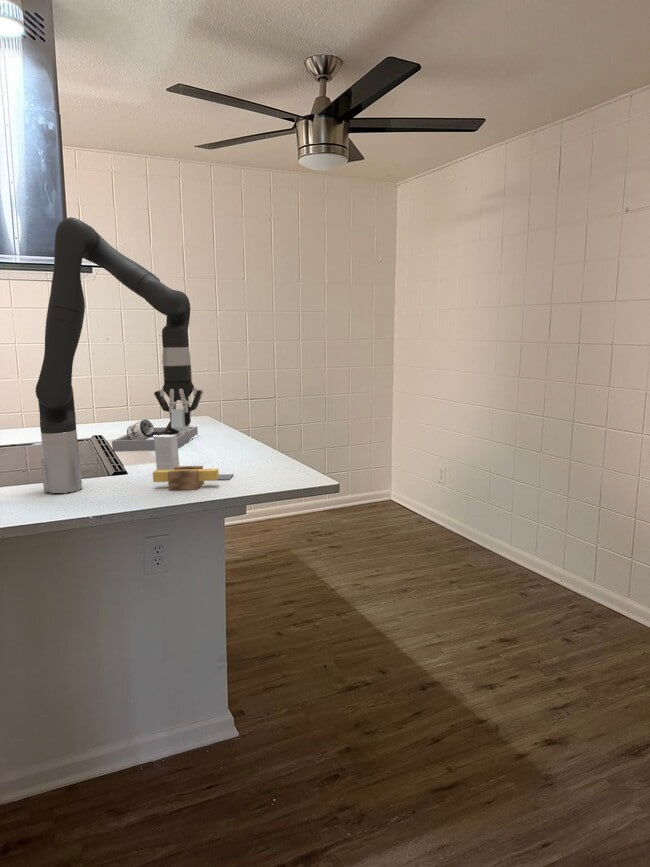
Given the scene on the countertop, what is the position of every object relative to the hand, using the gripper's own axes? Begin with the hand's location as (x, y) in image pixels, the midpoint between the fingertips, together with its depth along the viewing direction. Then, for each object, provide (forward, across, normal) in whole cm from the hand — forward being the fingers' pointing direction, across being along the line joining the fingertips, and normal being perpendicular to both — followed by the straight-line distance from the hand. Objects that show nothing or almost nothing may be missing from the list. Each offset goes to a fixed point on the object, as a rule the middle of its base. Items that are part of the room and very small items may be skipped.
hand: (180, 425), depth 167 cm
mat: (+18, 0, -10) cm, 21 cm away
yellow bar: (+16, 0, 0) cm, 16 cm away
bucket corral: (+18, +32, -75) cm, 84 cm away
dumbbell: (+18, +32, -75) cm, 84 cm away
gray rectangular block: (+1, 0, +1) cm, 1 cm away
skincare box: (+18, +10, -19) cm, 28 cm away
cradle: (+18, 0, 0) cm, 18 cm away
